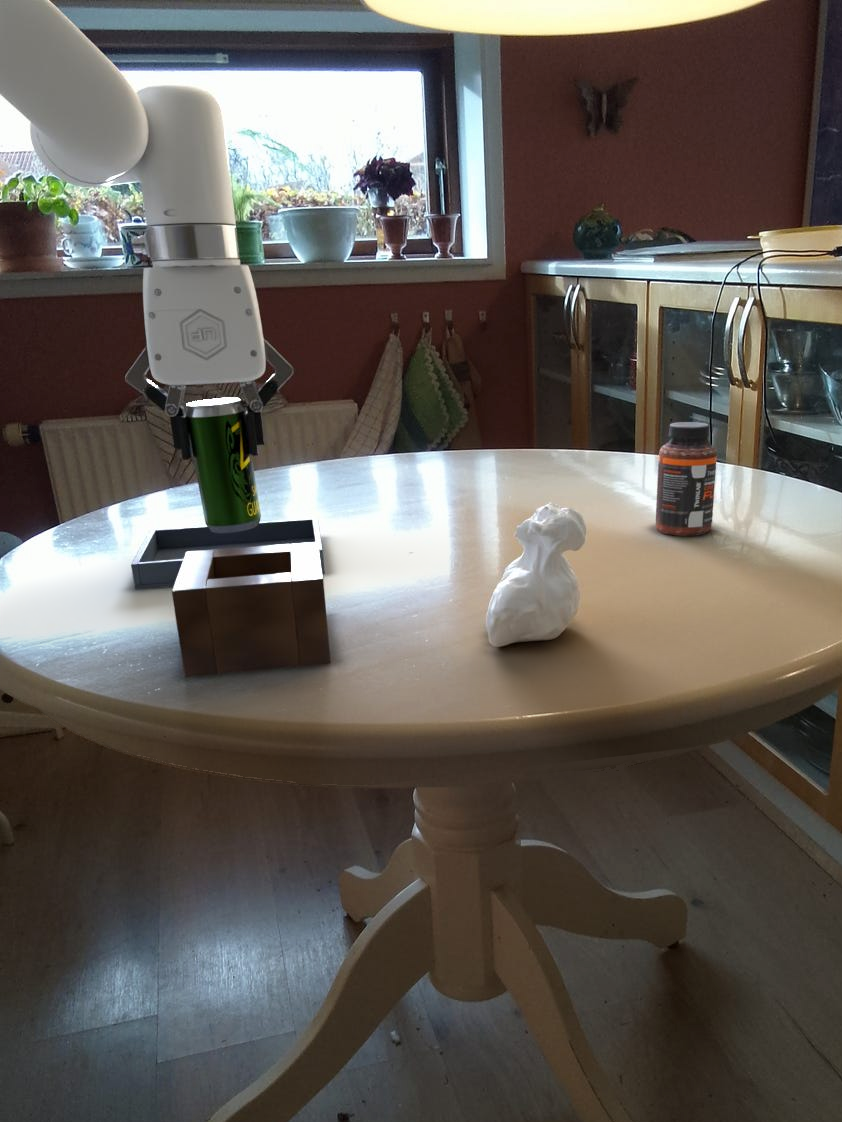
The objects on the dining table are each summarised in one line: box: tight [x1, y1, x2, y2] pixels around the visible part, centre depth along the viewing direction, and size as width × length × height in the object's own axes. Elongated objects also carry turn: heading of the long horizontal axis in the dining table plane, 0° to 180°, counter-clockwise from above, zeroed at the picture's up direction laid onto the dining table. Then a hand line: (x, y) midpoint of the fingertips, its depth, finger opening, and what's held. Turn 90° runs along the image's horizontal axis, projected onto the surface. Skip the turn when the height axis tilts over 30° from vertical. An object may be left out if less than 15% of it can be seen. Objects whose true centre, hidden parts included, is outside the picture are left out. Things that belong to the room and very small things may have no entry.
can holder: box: [171, 542, 332, 678], centre depth 69 cm, size 10×10×6 cm
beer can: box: [186, 397, 262, 533], centre depth 88 cm, size 5×5×12 cm
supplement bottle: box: [655, 421, 718, 537], centre depth 97 cm, size 6×6×11 cm
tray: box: [130, 517, 326, 590], centre depth 91 cm, size 17×13×2 cm
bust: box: [485, 501, 587, 648], centre depth 69 cm, size 12×8×11 cm
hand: (221, 453), depth 88 cm, fingers closed on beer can, 5 cm apart
